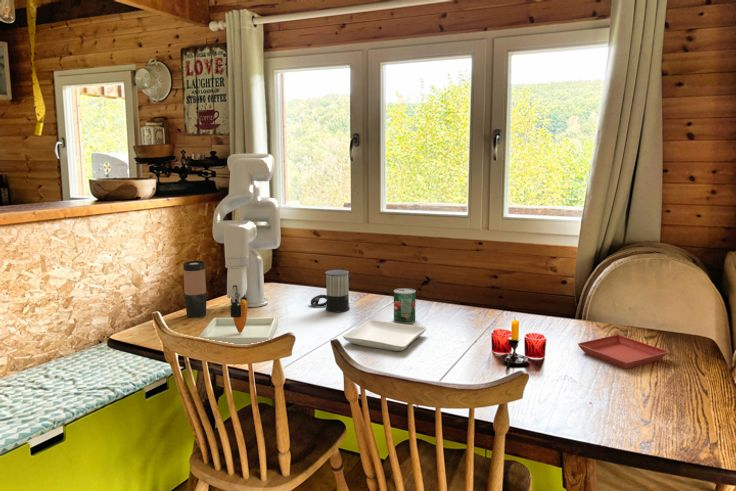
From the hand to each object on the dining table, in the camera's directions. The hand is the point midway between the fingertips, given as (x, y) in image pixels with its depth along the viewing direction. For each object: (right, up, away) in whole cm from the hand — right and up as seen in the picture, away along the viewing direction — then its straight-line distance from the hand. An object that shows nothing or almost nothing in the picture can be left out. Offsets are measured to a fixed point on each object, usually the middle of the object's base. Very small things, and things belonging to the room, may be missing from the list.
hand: (239, 312), depth 188 cm
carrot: (0, -7, +1) cm, 7 cm away
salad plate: (+48, -9, -4) cm, 49 cm away
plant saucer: (+118, -11, -19) cm, 120 cm away
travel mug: (-22, -4, +25) cm, 33 cm away
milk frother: (+27, -2, +36) cm, 45 cm away
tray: (0, -8, +1) cm, 8 cm away
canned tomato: (+56, -5, +18) cm, 59 cm away
